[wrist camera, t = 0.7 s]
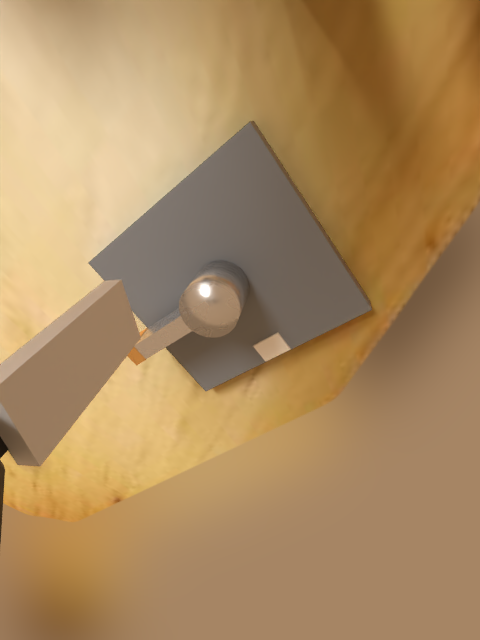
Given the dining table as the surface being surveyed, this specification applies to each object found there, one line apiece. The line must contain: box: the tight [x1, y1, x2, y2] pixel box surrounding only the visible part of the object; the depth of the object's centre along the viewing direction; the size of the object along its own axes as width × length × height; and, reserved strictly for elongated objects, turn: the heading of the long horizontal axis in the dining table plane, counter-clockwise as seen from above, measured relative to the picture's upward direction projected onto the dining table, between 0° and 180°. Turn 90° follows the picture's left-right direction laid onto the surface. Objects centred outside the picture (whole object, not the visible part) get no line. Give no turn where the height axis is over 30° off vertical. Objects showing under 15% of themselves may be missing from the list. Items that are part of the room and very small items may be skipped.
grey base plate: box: [89, 121, 372, 391], centre depth 41 cm, size 22×24×2 cm
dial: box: [127, 260, 249, 365], centre depth 40 cm, size 15×6×6 cm, turn 128°
